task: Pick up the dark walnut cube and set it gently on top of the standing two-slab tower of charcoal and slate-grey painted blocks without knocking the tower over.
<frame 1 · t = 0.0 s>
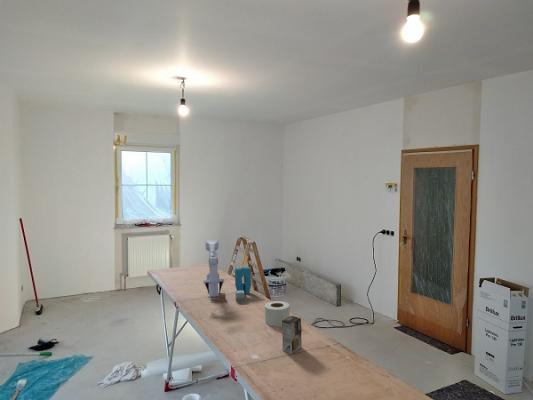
hand: (214, 293, 273), 10 cm above the table, fingers open, 7 cm apart
roll of tape: (277, 322, 243), on the table
tower middle: (240, 296, 286), point 3 cm above the table, touching tower base
walnut cube: (222, 300, 288), on the table
block: (243, 293, 304), on the table
tower base: (240, 301, 286), on the table, touching tower middle
coffee box: (292, 349, 204), on the table
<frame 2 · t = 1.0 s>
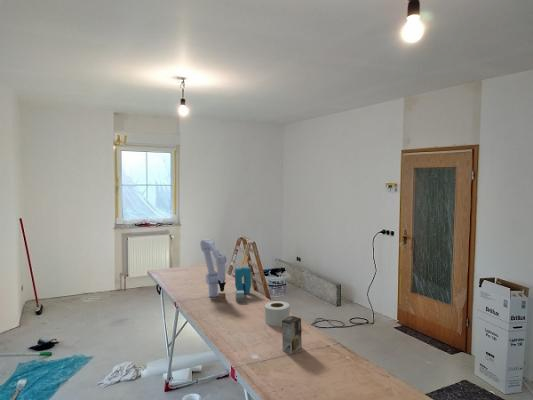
hand: (221, 290, 287), 8 cm above the table, fingers open, 7 cm apart
nothing on the table moved.
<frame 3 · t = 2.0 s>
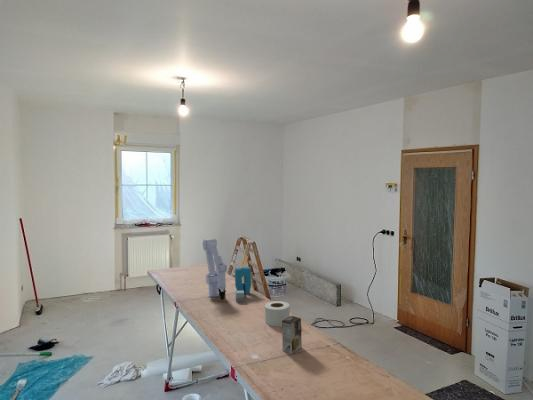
hand: (222, 298, 288), 1 cm above the table, fingers closed on walnut cube, 5 cm apart
walnut cube: (222, 300, 288), on the table, touching gripper
everything else where it was.
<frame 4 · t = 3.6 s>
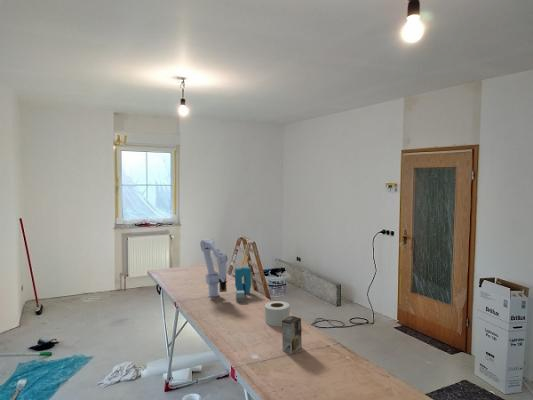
hand: (223, 289, 287), 9 cm above the table, fingers closed on walnut cube, 5 cm apart
walnut cube: (223, 290, 287), point 7 cm above the table, touching gripper
everything else where it was.
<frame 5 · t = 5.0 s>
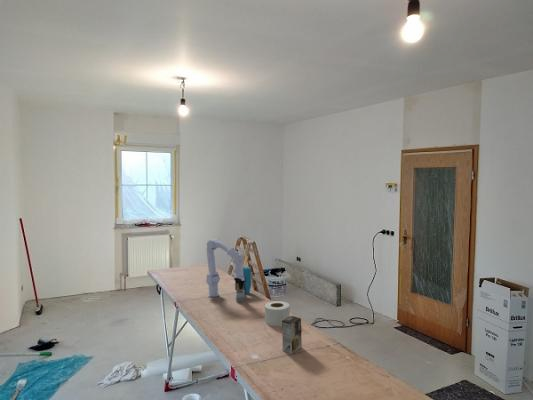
hand: (239, 288, 286), 9 cm above the table, fingers closed on walnut cube, 5 cm apart
tower middle: (240, 296, 286), point 3 cm above the table
walnut cube: (239, 290, 286), point 8 cm above the table, touching gripper
tower base: (240, 300, 286), on the table
everything else where it was.
when the fingers open (9 cm above the table, at t = 5.2 s): walnut cube drops 1 cm, resting on tower middle.
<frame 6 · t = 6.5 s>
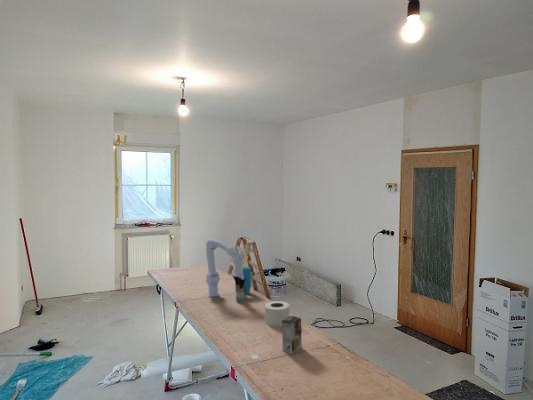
hand: (239, 286, 286), 10 cm above the table, fingers open, 7 cm apart
tower middle: (240, 296, 286), point 3 cm above the table, touching tower base, walnut cube
walnut cube: (240, 291, 286), point 7 cm above the table, touching tower middle
tower base: (240, 300, 287), on the table, touching tower middle
everything else where it was.
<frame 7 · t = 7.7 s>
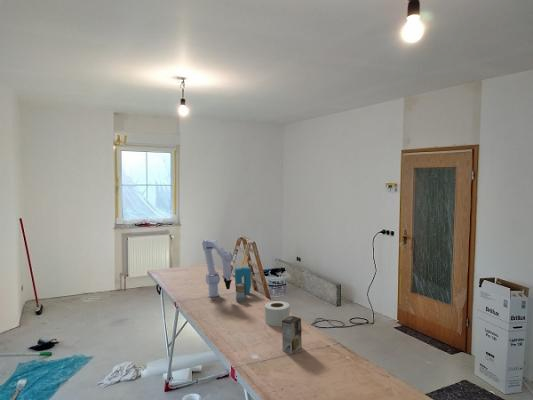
hand: (227, 287, 284), 10 cm above the table, fingers open, 7 cm apart
nothing on the table moved.
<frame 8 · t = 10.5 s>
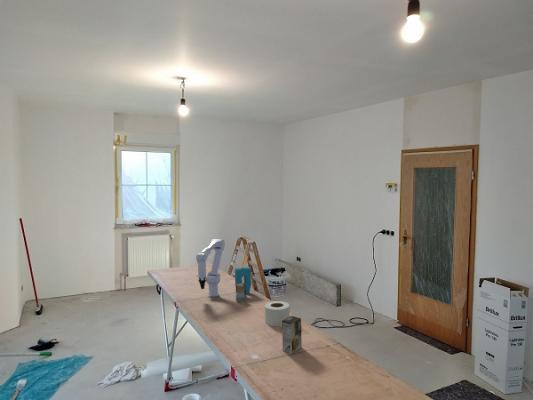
hand: (202, 287, 286), 10 cm above the table, fingers open, 7 cm apart
tower middle: (240, 296, 286), point 3 cm above the table, touching walnut cube
tower base: (240, 300, 287), on the table
everything else where it was.
at the end: walnut cube 0.0 cm off-centre on the tower middle, point 3.5 cm above the tower middle's base; tower middle moved 0.5 cm from its start; walnut cube tilted 0° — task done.
